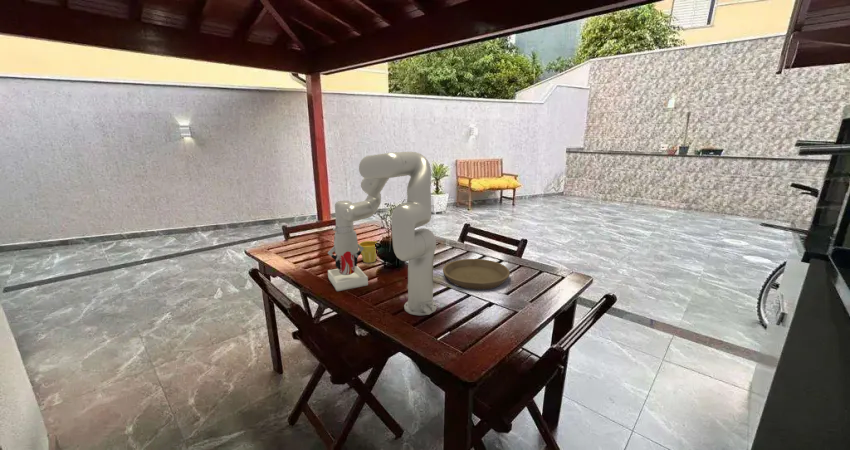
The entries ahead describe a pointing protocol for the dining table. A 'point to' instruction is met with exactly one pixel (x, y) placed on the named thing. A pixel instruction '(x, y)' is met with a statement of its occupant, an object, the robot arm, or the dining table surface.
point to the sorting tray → (347, 279)
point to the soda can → (347, 263)
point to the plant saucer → (476, 273)
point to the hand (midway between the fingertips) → (346, 266)
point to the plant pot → (368, 251)
